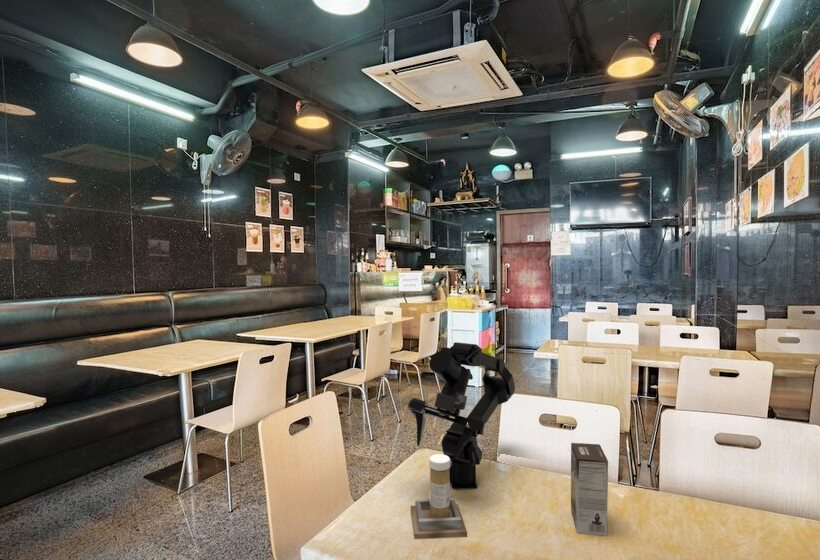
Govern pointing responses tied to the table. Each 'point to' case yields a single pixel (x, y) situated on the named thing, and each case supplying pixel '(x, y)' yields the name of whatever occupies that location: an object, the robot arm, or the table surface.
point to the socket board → (436, 521)
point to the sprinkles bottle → (439, 486)
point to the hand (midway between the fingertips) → (436, 451)
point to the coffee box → (589, 488)
